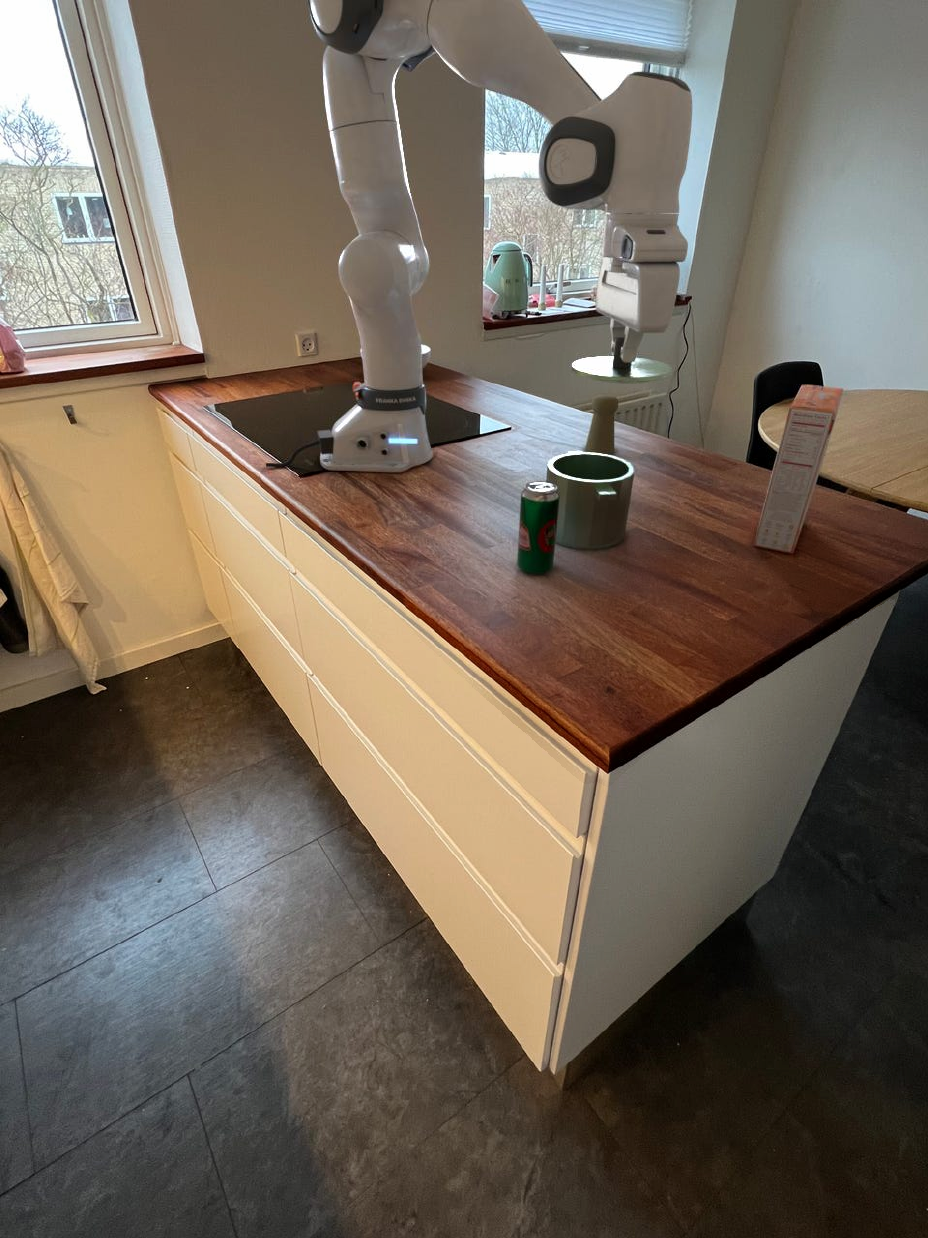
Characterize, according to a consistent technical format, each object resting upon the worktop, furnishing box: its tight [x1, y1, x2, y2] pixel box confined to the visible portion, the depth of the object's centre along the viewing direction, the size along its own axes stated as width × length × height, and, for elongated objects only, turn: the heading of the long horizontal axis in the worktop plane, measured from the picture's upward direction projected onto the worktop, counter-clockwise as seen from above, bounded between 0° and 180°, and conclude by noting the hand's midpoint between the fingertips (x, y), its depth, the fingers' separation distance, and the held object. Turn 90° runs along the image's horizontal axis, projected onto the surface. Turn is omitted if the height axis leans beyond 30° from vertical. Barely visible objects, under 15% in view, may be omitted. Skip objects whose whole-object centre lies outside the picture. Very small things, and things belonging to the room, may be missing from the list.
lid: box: [571, 337, 673, 384], centre depth 87 cm, size 14×14×5 cm
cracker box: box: [752, 384, 844, 555], centre depth 93 cm, size 14×6×21 cm, turn 150°
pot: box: [545, 450, 635, 550], centre depth 96 cm, size 13×18×10 cm
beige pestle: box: [584, 393, 619, 455], centre depth 129 cm, size 6×6×11 cm
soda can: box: [516, 480, 560, 576], centre depth 86 cm, size 5×5×12 cm
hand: (622, 358), depth 87 cm, fingers closed on lid, 2 cm apart
